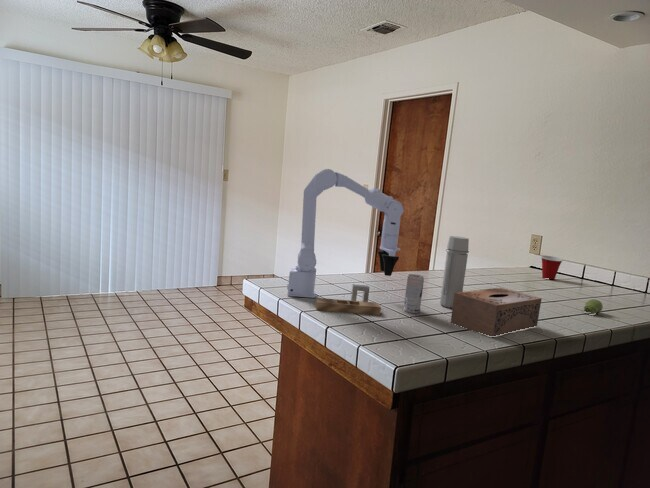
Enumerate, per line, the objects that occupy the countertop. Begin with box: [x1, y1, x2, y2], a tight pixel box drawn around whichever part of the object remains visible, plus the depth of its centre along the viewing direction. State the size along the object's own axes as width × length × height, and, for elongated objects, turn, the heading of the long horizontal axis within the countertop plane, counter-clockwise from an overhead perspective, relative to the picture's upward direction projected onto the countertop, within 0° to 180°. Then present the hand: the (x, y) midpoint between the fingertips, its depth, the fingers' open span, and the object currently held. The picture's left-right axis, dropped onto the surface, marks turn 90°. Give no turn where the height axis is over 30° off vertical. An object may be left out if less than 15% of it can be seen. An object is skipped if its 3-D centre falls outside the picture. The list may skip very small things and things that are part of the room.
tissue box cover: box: [449, 287, 543, 336], centre depth 142 cm, size 26×14×10 cm, turn 127°
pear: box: [583, 298, 603, 314], centre depth 173 cm, size 6×5×10 cm
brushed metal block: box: [350, 283, 370, 302], centre depth 153 cm, size 6×2×6 cm, turn 93°
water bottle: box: [439, 235, 470, 309], centre depth 159 cm, size 9×8×25 cm
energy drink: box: [403, 273, 425, 314], centre depth 149 cm, size 5×5×12 cm
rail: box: [315, 297, 382, 316], centre depth 143 cm, size 20×5×2 cm, turn 93°
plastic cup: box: [540, 255, 564, 280], centre depth 242 cm, size 11×11×12 cm
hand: (385, 273), depth 158 cm, fingers open, 7 cm apart
